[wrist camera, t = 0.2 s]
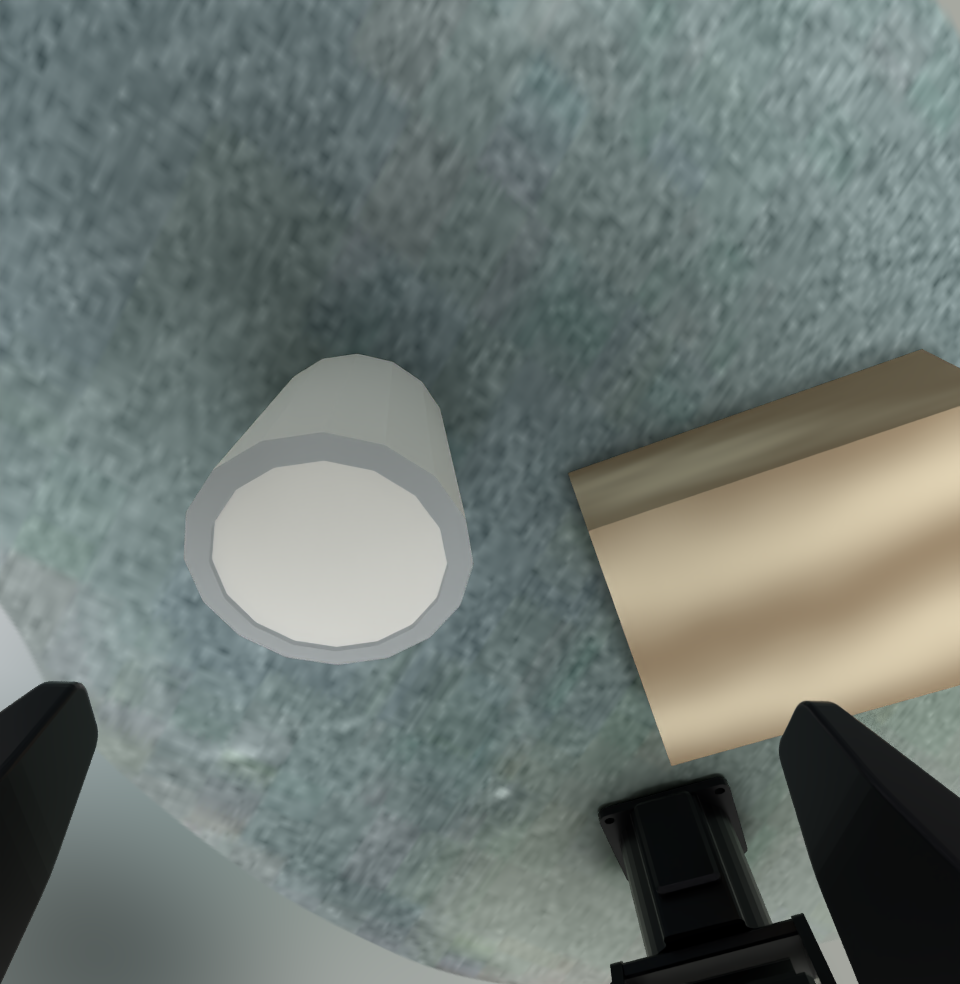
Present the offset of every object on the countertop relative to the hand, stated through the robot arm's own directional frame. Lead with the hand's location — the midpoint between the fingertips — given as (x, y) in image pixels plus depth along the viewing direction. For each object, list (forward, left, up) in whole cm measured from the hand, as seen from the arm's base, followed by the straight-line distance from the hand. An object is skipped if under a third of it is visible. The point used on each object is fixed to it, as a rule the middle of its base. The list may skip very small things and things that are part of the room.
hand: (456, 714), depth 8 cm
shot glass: (-2, +4, -14) cm, 15 cm away
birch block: (-12, -8, -14) cm, 20 cm away
